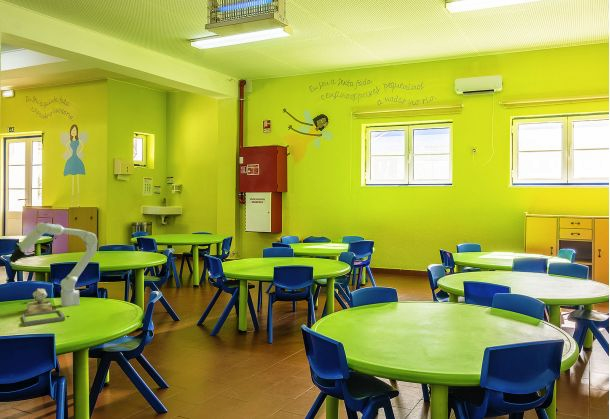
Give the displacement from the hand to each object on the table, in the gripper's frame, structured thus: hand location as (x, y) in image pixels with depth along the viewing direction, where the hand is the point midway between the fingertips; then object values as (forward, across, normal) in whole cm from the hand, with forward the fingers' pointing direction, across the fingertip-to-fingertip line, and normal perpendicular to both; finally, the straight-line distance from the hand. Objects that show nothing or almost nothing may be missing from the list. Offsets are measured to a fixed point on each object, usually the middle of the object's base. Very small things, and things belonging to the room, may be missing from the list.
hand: (11, 260), depth 277 cm
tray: (+13, +24, +28) cm, 39 cm away
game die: (+11, -26, +30) cm, 41 cm away
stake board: (+13, +6, +28) cm, 31 cm away
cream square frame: (+12, +5, +27) cm, 30 cm away
